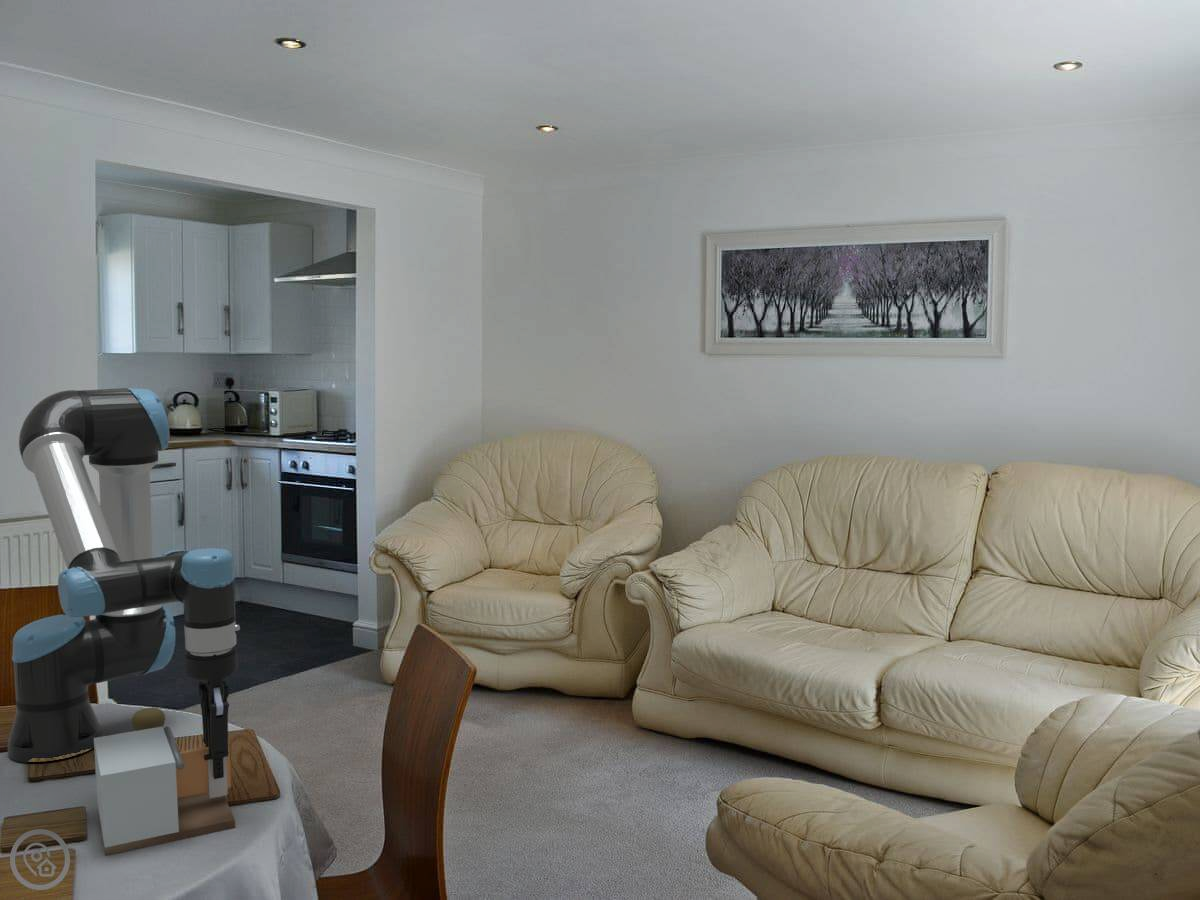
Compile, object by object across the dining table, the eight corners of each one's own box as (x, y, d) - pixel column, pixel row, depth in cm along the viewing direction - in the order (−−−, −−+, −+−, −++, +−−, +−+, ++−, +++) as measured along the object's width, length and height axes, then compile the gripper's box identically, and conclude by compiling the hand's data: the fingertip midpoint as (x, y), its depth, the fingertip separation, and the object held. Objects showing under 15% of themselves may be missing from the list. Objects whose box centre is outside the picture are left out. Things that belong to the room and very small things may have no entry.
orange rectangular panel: (120, 807, 160) (117, 762, 159) (230, 785, 168) (228, 743, 167) (120, 809, 159) (118, 764, 158) (231, 787, 167) (229, 744, 166)
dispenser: (97, 804, 165) (93, 738, 164) (173, 789, 171) (170, 725, 170) (104, 847, 152) (100, 775, 150) (187, 830, 157) (184, 760, 156)
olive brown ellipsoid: (156, 780, 177) (153, 717, 176) (124, 777, 178) (120, 715, 177) (177, 766, 183) (174, 705, 181) (146, 763, 184) (143, 702, 183)
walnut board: (97, 811, 166) (97, 804, 165) (217, 787, 174) (217, 780, 174) (105, 855, 152) (104, 847, 152) (235, 827, 160) (234, 819, 160)
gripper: (244, 657, 159) (250, 806, 162) (229, 634, 171) (234, 772, 174) (191, 665, 156) (198, 816, 159) (180, 640, 168) (186, 782, 171)
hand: (217, 793), depth 166 cm, fingers closed, pressing on orange rectangular panel
